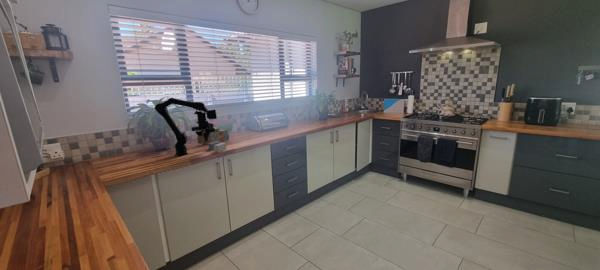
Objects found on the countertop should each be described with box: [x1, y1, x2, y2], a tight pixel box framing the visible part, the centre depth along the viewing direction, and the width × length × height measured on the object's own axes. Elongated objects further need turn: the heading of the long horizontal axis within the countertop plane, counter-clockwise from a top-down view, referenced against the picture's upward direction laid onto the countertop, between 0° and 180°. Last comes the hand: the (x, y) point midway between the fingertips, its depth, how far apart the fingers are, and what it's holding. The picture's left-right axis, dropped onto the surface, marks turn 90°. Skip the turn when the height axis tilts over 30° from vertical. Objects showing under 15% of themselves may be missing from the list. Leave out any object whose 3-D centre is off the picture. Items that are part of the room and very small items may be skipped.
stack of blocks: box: [203, 126, 230, 145], centre depth 214 cm, size 21×6×12 cm, turn 144°
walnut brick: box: [196, 135, 211, 145], centre depth 182 cm, size 8×4×5 cm, turn 153°
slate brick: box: [208, 141, 222, 151], centre depth 193 cm, size 8×4×5 cm, turn 142°
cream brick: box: [213, 142, 227, 153], centre depth 187 cm, size 8×4×5 cm, turn 156°
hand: (204, 140), depth 183 cm, fingers closed on walnut brick, 5 cm apart
